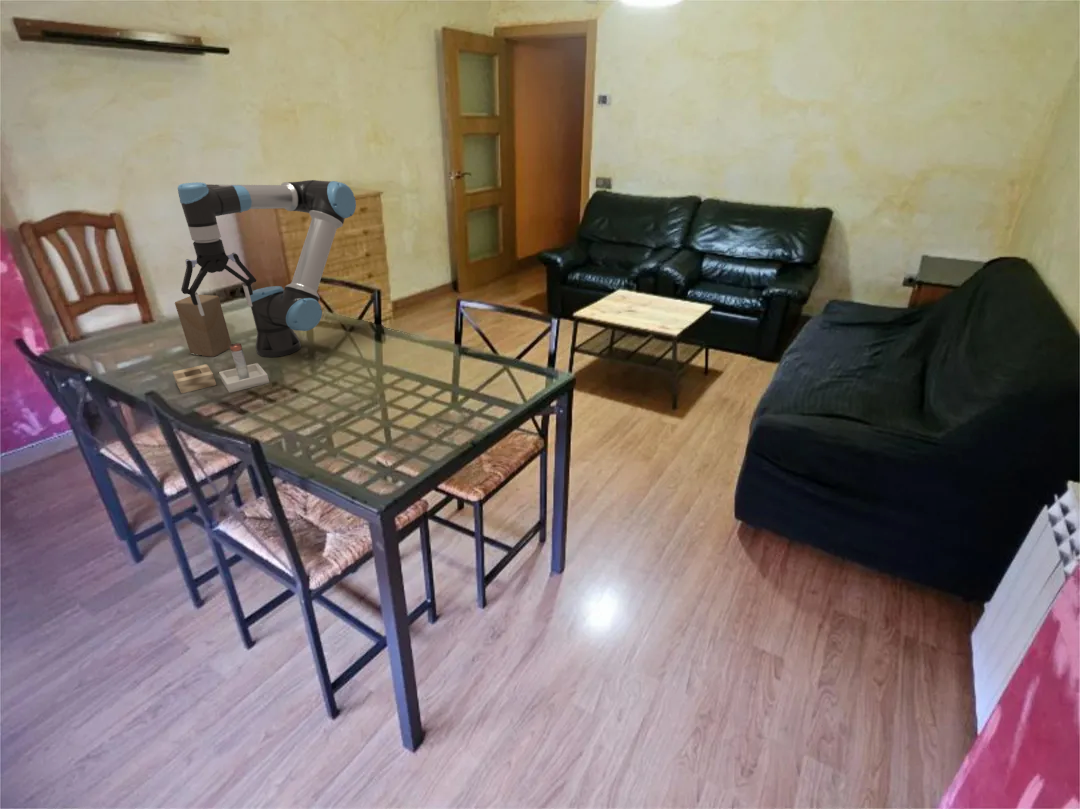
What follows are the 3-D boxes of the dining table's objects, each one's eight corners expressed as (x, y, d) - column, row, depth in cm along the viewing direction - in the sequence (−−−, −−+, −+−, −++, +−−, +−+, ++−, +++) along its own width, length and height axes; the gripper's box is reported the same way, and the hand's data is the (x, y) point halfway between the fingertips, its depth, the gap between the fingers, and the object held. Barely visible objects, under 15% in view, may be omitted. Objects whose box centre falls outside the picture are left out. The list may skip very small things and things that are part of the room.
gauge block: (210, 374, 189) (206, 364, 188) (216, 385, 182) (213, 373, 181) (176, 382, 184) (172, 371, 182) (181, 393, 177) (177, 382, 175)
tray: (259, 371, 192) (257, 362, 191) (269, 382, 184) (267, 374, 182) (221, 380, 186) (218, 372, 184) (229, 393, 177) (227, 384, 176)
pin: (248, 376, 186) (239, 342, 181) (251, 379, 184) (242, 345, 179) (238, 379, 185) (228, 344, 179) (240, 382, 182) (231, 347, 177)
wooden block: (214, 357, 203) (198, 303, 194) (190, 355, 205) (173, 302, 196) (233, 347, 212) (218, 295, 202) (209, 345, 213) (194, 293, 204)
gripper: (249, 232, 173) (265, 299, 183) (155, 243, 160) (178, 315, 170) (255, 236, 168) (272, 304, 178) (159, 248, 154) (183, 321, 164)
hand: (226, 310), depth 174 cm, fingers open, 13 cm apart
